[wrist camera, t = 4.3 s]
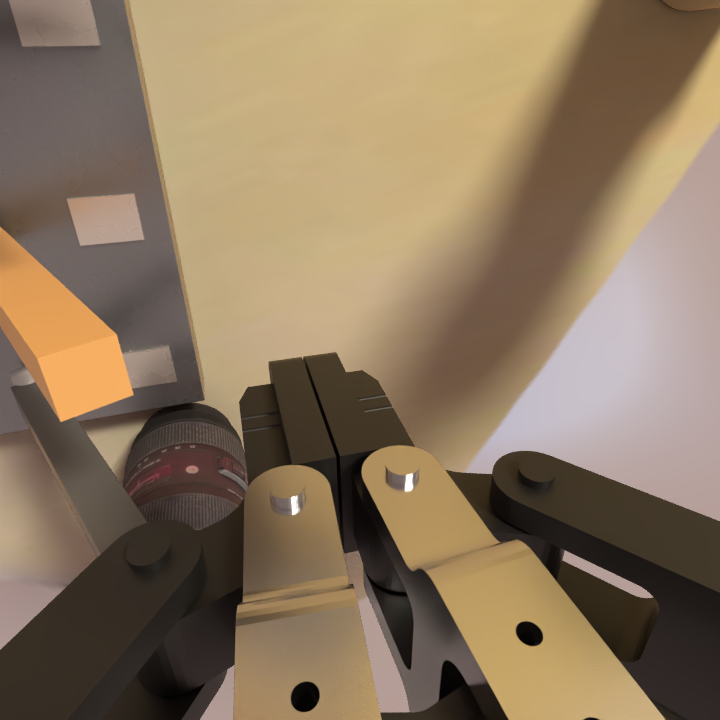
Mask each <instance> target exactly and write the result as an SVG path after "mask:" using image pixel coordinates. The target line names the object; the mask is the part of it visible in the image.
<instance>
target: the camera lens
mask: <svg viewBox="0 0 720 720" xmlns="http://www.w3.org/2000/svg"><path fill="white" fill-rule="evenodd" d="M123 488H124V489H125V491H126V492H127V494H128V495H129V496H130V498H131V499H132V501H133V502H134V504H135V505H136V507H137V508H138V510H139V511H140V512H141V514H142V515H143V517H144V518H145V520H146V521H147V523H149V522H152V521H158V520H176V521H180V522H184V523H186V524H188V525H190V526H191V527H192V528H194V529H195V531H196V532H197V531H199V530H201V529H203V528H206V527H208V526H210V525H212V524H214V523H216V522H218V521H220V520H222V519H223V518H225V517H226V516H228V515H229V514H230V513H232V512H233V511H234V510H235V509H236V508H237V507H238V506H239V505H240V503H241V502H242V500H243V499H244V497H245V493H246V490H247V488H248V477H247V468H246V459H245V452H244V449H243V447H242V443H241V440H240V437H239V436H238V434H237V432H236V430H235V429H234V428H233V427H232V425H231V424H230V422H229V420H228V419H227V418H226V417H225V416H224V415H223V414H222V413H221V412H219V411H218V410H216V409H215V408H212V407H210V406H207V405H204V404H199V403H185V404H179V405H173V406H169V407H166V408H164V409H162V410H160V411H158V412H157V413H156V414H154V415H153V416H152V417H151V418H150V419H149V420H148V421H147V422H146V423H145V425H144V427H143V429H142V430H141V431H140V433H139V434H138V435H137V437H136V439H135V440H134V442H133V445H132V448H131V452H130V455H129V457H128V460H127V463H126V467H125V473H124V479H123Z"/></svg>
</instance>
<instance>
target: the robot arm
mask: <svg viewBox="0 0 720 720" xmlns="http://www.w3.org/2000/svg"><path fill="white" fill-rule="evenodd" d="M662 1H663V2H665V3H666V4H667V5H669V6H670V7H672V8H675V9H678V10H681V11H696V10H704V9H712V8H720V0H662ZM269 373H270V381H271V384H267V385H260V386H253V387H248V388H247V389H246V391H245V393H244V395H243V396H242V398H241V400H240V402H239V404H240V413H241V423H242V431H243V441H244V450H245V459H246V468H247V477H248V488H247V490H246V493H245V497H244V499H243V500H242V502H241V503H240V505H239V506H238V507H237V508H236V509H235V510H234V511H233V512H232V513H230V514H229V515H228V516H226V517H225V518H223V519H222V520H220V521H218V522H216V523H214V524H212V525H210V526H208V527H206V528H203V529H201V530H199V531H197V532H196V531H195V529H194V528H192V527H191V526H190V525H188V524H186V523H184V522H180V521H176V520H158V521H152V522H149V523H145V524H142V525H140V526H137V527H135V528H133V529H131V530H129V531H128V532H126V533H125V534H123V535H122V536H120V537H119V538H118V539H117V540H116V541H114V542H113V543H112V544H111V545H110V546H109V547H108V548H107V549H106V550H105V551H104V552H103V553H102V554H101V555H100V556H99V557H97V558H96V559H95V560H94V561H93V562H92V563H91V564H90V565H89V566H88V567H87V568H86V569H85V570H84V571H83V572H82V573H81V574H80V575H79V576H78V577H76V578H75V579H74V580H73V581H72V582H71V583H70V584H69V585H68V586H67V587H66V588H65V589H64V590H63V591H62V592H61V593H60V594H59V595H58V596H57V597H55V598H54V599H53V600H52V601H51V602H50V603H49V604H48V605H47V606H46V607H45V608H44V609H43V610H42V611H41V612H40V613H39V614H38V615H37V616H36V617H34V618H33V619H32V620H31V621H30V622H29V623H28V624H27V625H26V626H25V627H24V628H23V629H22V630H21V631H20V632H19V633H18V634H17V635H16V636H15V637H13V639H11V640H10V642H8V643H7V644H6V645H5V646H4V647H3V648H2V649H1V650H0V720H200V718H201V716H202V715H203V713H204V712H205V710H206V709H207V707H208V705H209V704H210V702H211V701H212V699H213V697H214V696H215V695H216V693H217V691H218V690H219V688H220V687H221V685H222V683H223V681H224V679H225V676H226V673H227V669H228V668H230V667H232V666H233V665H235V674H234V714H233V715H234V716H233V720H720V521H717V520H715V519H712V518H710V517H707V516H704V515H702V514H699V513H697V512H694V511H691V510H689V509H686V508H684V507H681V506H679V505H676V504H674V503H671V502H668V501H666V500H663V499H661V498H658V497H655V496H653V495H650V494H648V493H645V492H643V491H640V490H637V489H635V488H632V487H630V486H627V485H624V484H622V483H619V482H617V481H614V480H611V479H609V478H606V477H604V476H601V475H598V474H596V473H593V472H591V471H588V470H586V469H583V468H580V467H578V466H575V465H573V464H570V463H568V462H565V461H562V460H560V459H557V458H554V457H552V456H549V455H546V454H542V453H539V452H533V451H517V452H512V453H509V454H506V455H504V456H502V457H501V458H500V459H499V460H498V461H497V462H496V463H495V465H494V468H493V472H492V474H476V473H474V474H473V473H460V472H453V471H448V470H445V469H444V468H443V466H442V465H441V464H440V462H439V461H438V460H437V459H436V458H435V457H434V456H433V455H432V454H430V453H428V452H427V451H424V450H422V449H420V448H416V447H415V446H414V444H413V443H412V441H411V439H410V437H409V435H408V434H407V432H406V430H405V428H404V427H403V425H402V423H401V421H400V420H399V418H398V416H397V414H396V412H395V411H394V409H393V408H392V405H391V404H390V402H389V400H388V398H387V397H386V396H385V393H384V391H383V389H382V388H381V386H380V384H379V382H378V381H377V380H376V379H374V378H373V377H371V376H370V375H368V374H367V373H365V372H364V371H362V370H361V371H354V372H347V373H346V372H345V369H344V367H343V365H342V363H341V361H340V359H339V357H338V355H337V353H336V352H334V353H327V354H320V355H312V356H305V357H303V359H302V357H299V358H292V359H284V360H277V361H270V362H269ZM342 547H343V549H342ZM343 550H344V553H349V552H353V551H358V550H359V553H360V556H361V559H362V562H363V580H364V587H365V590H366V593H367V595H368V598H369V600H370V603H371V605H372V608H373V610H374V612H375V615H376V617H377V620H378V622H379V625H380V627H381V629H382V632H383V634H384V637H385V639H386V642H387V644H388V647H389V649H390V652H391V654H392V657H393V659H394V662H395V664H396V666H397V668H398V671H399V674H400V676H401V679H402V682H403V685H404V688H405V691H406V695H407V700H408V705H409V710H410V712H408V713H380V709H379V705H378V699H377V695H376V689H375V685H374V680H373V675H372V670H371V665H370V660H369V655H368V650H367V645H366V640H365V635H364V630H363V625H362V620H361V616H360V611H359V606H358V601H357V597H356V592H355V589H354V586H353V584H349V580H348V575H347V570H346V565H345V560H344V555H343ZM565 550H566V551H568V552H570V553H572V554H574V555H576V556H578V557H580V558H583V559H585V560H587V561H589V562H591V563H593V564H595V565H597V566H599V567H601V568H603V569H606V570H608V571H610V572H612V573H614V574H616V575H618V576H620V577H622V578H624V579H626V580H629V581H631V582H633V583H635V584H637V585H639V586H641V587H643V588H644V589H645V590H647V591H648V592H649V593H650V594H651V595H652V596H653V598H640V597H636V596H634V595H632V594H630V593H628V592H626V591H624V590H622V589H619V588H617V587H615V586H613V585H611V584H609V583H607V582H605V581H603V580H601V579H599V578H597V577H595V576H593V575H591V574H589V573H587V572H585V571H583V570H580V569H579V568H577V567H574V566H572V565H570V564H568V563H566V562H564V561H562V559H563V555H564V551H565Z"/></svg>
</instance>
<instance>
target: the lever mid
mask: <svg viewBox="0 0 720 720" xmlns="http://www.w3.org/2000/svg"><path fill="white" fill-rule="evenodd" d="M0 327H1V329H2V330H3V332H4V333H5V335H6V336H7V338H8V340H9V341H10V343H11V344H12V346H13V348H14V349H15V351H16V352H17V354H18V355H19V357H20V359H21V360H22V362H23V363H24V365H25V366H26V368H27V370H28V371H29V373H30V374H31V376H32V378H33V379H34V381H35V382H36V384H37V385H38V387H39V389H40V390H41V392H42V393H43V395H44V396H45V398H46V400H47V401H48V403H49V404H50V406H51V407H52V409H53V411H54V412H55V414H56V415H57V417H58V419H59V420H60V422H62V421H65V420H68V419H70V418H73V417H76V416H78V415H81V414H84V413H87V412H89V411H92V410H95V409H97V408H100V407H103V406H105V405H108V404H111V403H113V402H116V401H119V400H121V399H124V398H127V397H129V396H132V395H134V394H133V391H132V387H131V384H130V380H129V377H128V373H127V369H126V366H125V362H124V359H123V355H122V352H121V348H120V344H119V341H118V337H117V334H116V333H115V332H114V331H113V330H111V329H110V328H109V327H108V326H107V325H106V324H105V323H104V322H103V321H102V320H101V319H100V318H99V317H97V316H96V315H95V314H94V313H93V312H92V311H91V310H90V309H89V308H88V307H87V306H86V305H84V304H83V303H82V302H81V301H80V300H79V299H78V298H77V297H76V296H75V295H74V294H73V293H72V292H70V291H69V290H68V289H67V288H66V287H65V286H64V285H63V284H62V283H61V282H60V281H59V280H57V279H56V278H55V277H54V276H53V275H52V274H51V273H50V272H49V271H48V270H47V269H46V268H44V267H43V266H42V265H41V264H40V263H39V262H38V261H37V260H36V259H35V258H34V257H33V256H32V255H30V254H29V253H28V252H27V251H26V250H25V249H24V248H23V247H22V246H21V245H20V244H19V243H17V242H16V241H15V240H14V239H13V238H12V237H11V236H10V235H9V234H8V233H7V232H6V231H5V230H3V229H2V228H1V227H0Z"/></svg>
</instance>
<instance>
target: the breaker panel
mask: <svg viewBox="0 0 720 720" xmlns="http://www.w3.org/2000/svg"><path fill="white" fill-rule="evenodd" d="M0 227H1V228H2V229H3V230H5V231H6V232H7V233H8V234H9V235H10V236H11V237H12V238H13V239H14V240H15V241H16V242H17V243H19V244H20V245H21V246H22V247H23V248H24V249H25V250H26V251H27V252H28V253H29V254H30V255H32V256H33V257H34V258H35V259H36V260H37V261H38V262H39V263H40V264H41V265H42V266H43V267H44V268H46V269H47V270H48V271H49V272H50V273H51V274H52V275H53V276H54V277H55V278H56V279H57V280H59V281H60V282H61V283H62V284H63V285H64V286H65V287H66V288H67V289H68V290H69V291H70V292H72V293H73V294H74V295H75V296H76V297H77V298H78V299H79V300H80V301H81V302H82V303H83V304H84V305H86V306H87V307H88V308H89V309H90V310H91V311H92V312H93V313H94V314H95V315H96V316H97V317H99V318H100V319H101V320H102V321H103V322H104V323H105V324H106V325H107V326H108V327H109V328H110V329H111V330H113V331H114V332H115V333H116V334H117V337H118V341H119V344H120V348H121V352H122V355H123V359H124V362H125V366H126V369H127V373H128V377H129V380H130V384H131V387H132V391H133V394H134V395H132V396H129V397H127V398H124V399H121V400H119V401H116V402H113V403H111V404H108V405H105V406H103V407H100V408H97V409H95V410H92V411H89V412H87V413H84V414H81V415H78V416H76V417H75V418H76V419H77V421H83V420H89V419H95V418H101V417H107V416H113V415H119V414H125V413H131V412H137V411H143V410H149V409H155V408H161V407H167V406H173V405H179V404H185V403H191V402H197V401H203V400H205V399H204V378H203V373H202V368H201V363H200V358H199V352H198V347H197V342H196V337H195V332H194V327H193V322H192V317H191V312H190V307H189V302H188V297H187V292H186V287H185V282H184V277H183V272H182V266H181V261H180V256H179V251H178V246H177V241H176V236H175V231H174V226H173V221H172V216H171V211H170V206H169V201H168V196H167V191H166V186H165V180H164V175H163V170H162V165H161V160H160V155H159V150H158V145H157V140H156V135H155V130H154V125H153V120H152V115H151V110H150V105H149V100H148V94H147V89H146V84H145V79H144V74H143V69H142V64H141V59H140V54H139V49H138V44H137V39H136V34H135V29H134V24H133V19H132V14H131V9H130V3H129V0H0ZM22 366H25V365H24V363H23V362H22V360H21V359H20V357H19V355H18V354H17V352H16V351H15V349H14V348H13V346H12V344H11V343H10V341H9V340H8V338H7V336H6V335H5V333H4V332H3V330H2V329H1V327H0V434H5V433H11V432H17V431H23V430H29V427H28V426H27V424H26V422H25V420H24V418H23V416H22V414H21V412H20V409H19V407H18V405H17V402H16V400H15V397H14V395H13V392H12V390H11V388H10V387H12V386H14V384H13V382H12V379H11V377H10V373H11V372H12V371H13V370H15V369H17V368H19V367H22Z"/></svg>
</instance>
